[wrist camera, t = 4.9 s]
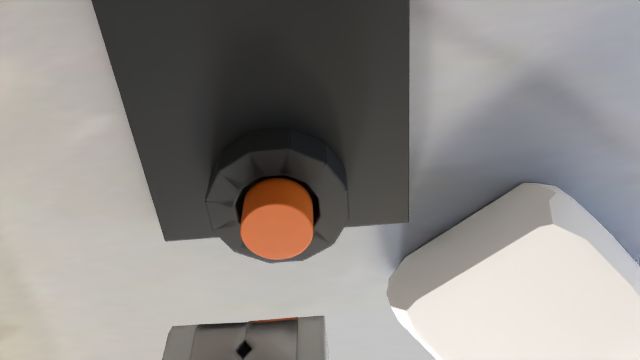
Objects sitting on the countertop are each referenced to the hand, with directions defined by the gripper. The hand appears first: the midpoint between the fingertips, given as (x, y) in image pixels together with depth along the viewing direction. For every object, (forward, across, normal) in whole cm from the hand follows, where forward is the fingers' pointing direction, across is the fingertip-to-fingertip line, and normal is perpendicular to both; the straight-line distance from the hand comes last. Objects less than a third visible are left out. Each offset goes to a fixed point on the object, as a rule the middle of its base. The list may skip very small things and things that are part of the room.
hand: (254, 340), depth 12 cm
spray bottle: (+14, -14, +19) cm, 28 cm away
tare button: (+11, +1, +6) cm, 13 cm away
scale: (+14, +1, +1) cm, 14 cm away
